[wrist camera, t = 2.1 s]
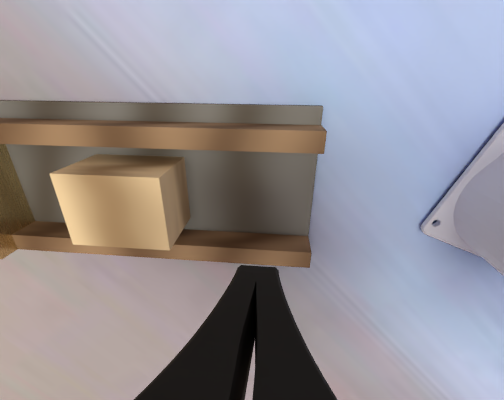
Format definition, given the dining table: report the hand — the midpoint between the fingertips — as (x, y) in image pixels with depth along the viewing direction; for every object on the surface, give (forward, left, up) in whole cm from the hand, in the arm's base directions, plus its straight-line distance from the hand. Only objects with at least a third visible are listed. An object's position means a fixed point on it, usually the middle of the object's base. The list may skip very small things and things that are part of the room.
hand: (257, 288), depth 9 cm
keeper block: (+3, -8, -9) cm, 12 cm away
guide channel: (+3, -8, -9) cm, 12 cm away
